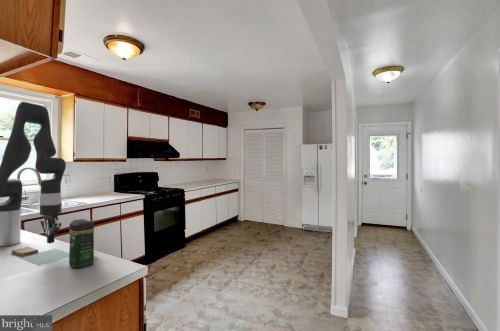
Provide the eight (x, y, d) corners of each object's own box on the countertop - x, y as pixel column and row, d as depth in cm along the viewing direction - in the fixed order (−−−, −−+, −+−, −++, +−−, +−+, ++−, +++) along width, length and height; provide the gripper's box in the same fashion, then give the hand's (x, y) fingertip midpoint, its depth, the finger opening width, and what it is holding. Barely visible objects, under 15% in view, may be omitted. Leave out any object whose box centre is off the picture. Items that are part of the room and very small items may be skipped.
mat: (18, 259, 114) (18, 257, 114) (55, 249, 126) (55, 248, 126) (38, 267, 106) (38, 265, 106) (75, 256, 118) (75, 254, 118)
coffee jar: (96, 264, 109) (97, 220, 109) (74, 270, 103) (75, 223, 103) (87, 259, 115) (87, 216, 115) (66, 264, 109) (66, 219, 109)
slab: (22, 259, 115) (11, 255, 119) (38, 254, 120) (27, 251, 124) (22, 253, 115) (11, 250, 119) (38, 249, 120) (27, 246, 124)
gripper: (33, 203, 114) (32, 242, 114) (48, 205, 108) (48, 247, 108) (52, 200, 121) (52, 238, 121) (68, 203, 115) (68, 242, 115)
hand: (50, 242), depth 115 cm, fingers closed
